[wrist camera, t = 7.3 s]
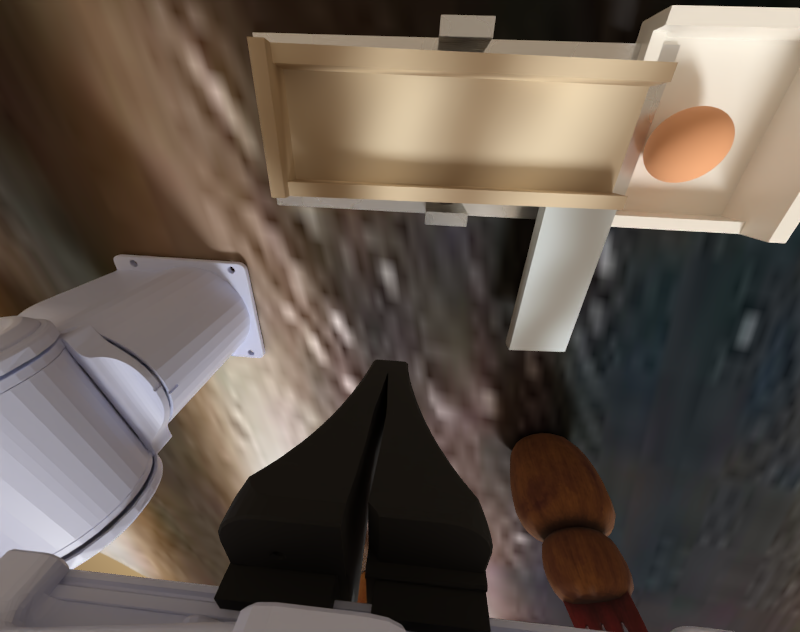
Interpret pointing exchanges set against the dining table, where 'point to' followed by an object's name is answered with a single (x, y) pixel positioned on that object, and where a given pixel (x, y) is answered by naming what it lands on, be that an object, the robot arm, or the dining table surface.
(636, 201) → the dish
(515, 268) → the dining table surface
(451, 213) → the stand
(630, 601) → the wooden figurine
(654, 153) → the brown egg
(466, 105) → the beige tray
